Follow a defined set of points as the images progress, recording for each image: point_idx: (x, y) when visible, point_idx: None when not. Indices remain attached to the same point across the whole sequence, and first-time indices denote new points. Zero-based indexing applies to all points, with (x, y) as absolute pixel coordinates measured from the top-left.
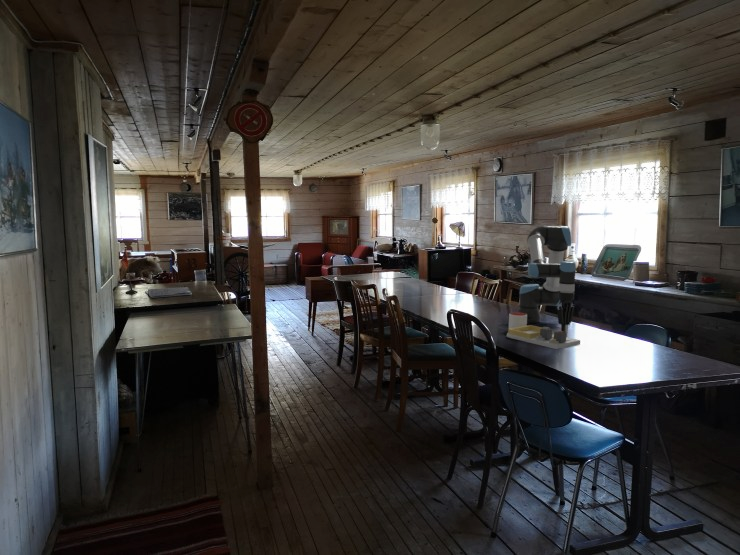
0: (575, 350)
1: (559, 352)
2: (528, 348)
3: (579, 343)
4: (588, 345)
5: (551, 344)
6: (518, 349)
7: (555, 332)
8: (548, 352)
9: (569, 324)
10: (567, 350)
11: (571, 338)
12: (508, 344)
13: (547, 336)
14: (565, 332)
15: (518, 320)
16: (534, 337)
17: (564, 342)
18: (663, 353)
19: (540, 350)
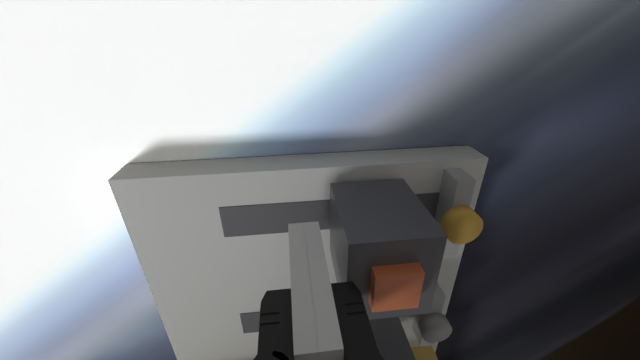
0: (381, 20)
1: (557, 55)
2: (572, 239)
3: (135, 165)
4: (79, 86)
5: (475, 198)
6: (631, 247)
7: (430, 295)
8: (609, 105)
9: (273, 354)
10: (439, 65)
11: (146, 256)
12: (547, 330)
13: None
14: (365, 245)
15: None
16: None
17: None
18: None
19: (580, 173)
